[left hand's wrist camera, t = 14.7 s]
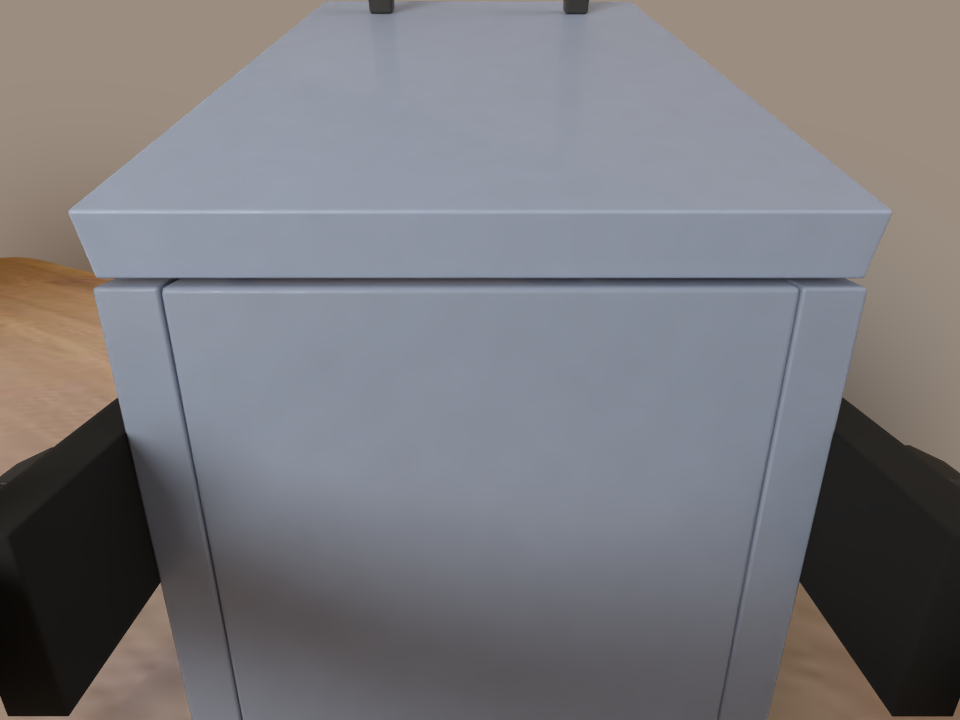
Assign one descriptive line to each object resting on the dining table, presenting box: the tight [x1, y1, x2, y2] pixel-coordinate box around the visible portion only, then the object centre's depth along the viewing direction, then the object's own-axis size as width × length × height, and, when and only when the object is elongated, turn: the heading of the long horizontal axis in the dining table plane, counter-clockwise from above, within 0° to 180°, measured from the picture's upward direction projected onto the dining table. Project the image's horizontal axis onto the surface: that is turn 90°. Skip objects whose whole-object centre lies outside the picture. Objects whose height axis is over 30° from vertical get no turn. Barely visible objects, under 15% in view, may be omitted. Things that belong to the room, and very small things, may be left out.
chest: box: [94, 278, 867, 720], centre depth 18 cm, size 16×10×10 cm, turn 0°
